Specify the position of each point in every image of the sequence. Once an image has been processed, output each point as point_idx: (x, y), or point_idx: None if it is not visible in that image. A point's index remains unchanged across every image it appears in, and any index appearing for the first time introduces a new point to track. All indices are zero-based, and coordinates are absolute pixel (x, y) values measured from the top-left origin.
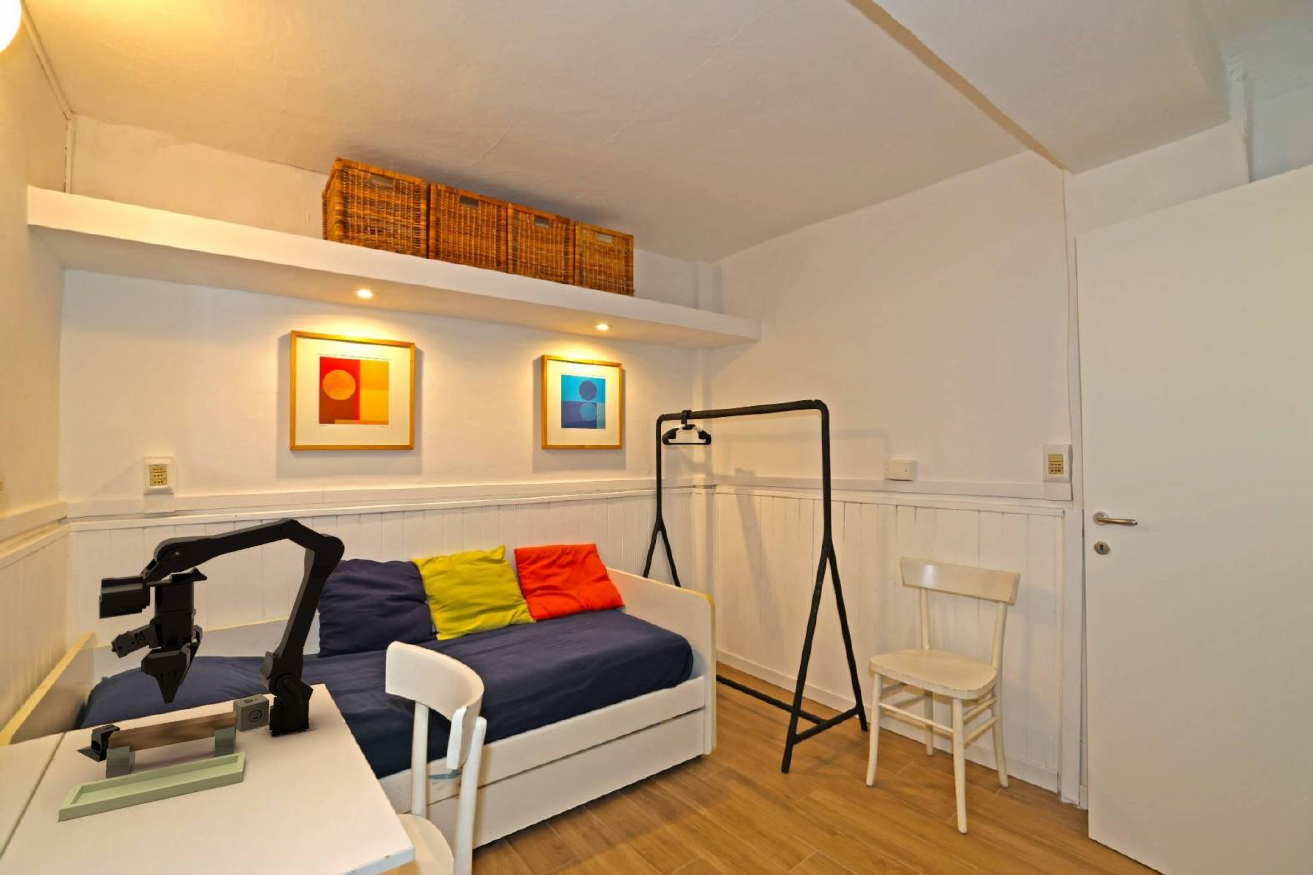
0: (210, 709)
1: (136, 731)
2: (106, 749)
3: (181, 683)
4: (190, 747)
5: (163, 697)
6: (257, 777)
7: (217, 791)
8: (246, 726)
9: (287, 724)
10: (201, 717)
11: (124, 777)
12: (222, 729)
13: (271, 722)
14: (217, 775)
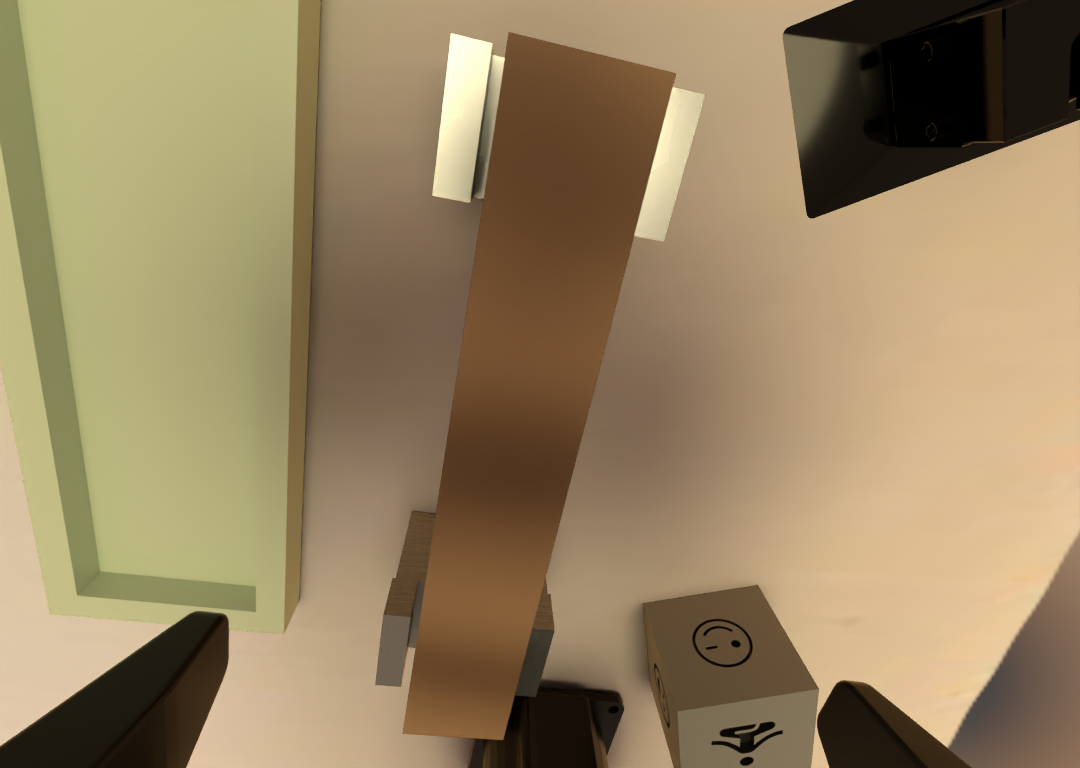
0: (1044, 527)
1: (533, 250)
2: (896, 70)
3: (828, 737)
4: (620, 439)
5: (97, 682)
6: (98, 620)
7: (21, 503)
8: (648, 635)
9: (487, 760)
10: (522, 605)
11: (263, 159)
12: (381, 640)
13: (530, 731)
14: (49, 536)
